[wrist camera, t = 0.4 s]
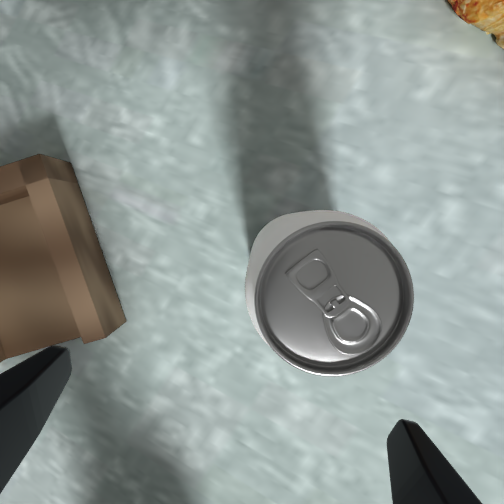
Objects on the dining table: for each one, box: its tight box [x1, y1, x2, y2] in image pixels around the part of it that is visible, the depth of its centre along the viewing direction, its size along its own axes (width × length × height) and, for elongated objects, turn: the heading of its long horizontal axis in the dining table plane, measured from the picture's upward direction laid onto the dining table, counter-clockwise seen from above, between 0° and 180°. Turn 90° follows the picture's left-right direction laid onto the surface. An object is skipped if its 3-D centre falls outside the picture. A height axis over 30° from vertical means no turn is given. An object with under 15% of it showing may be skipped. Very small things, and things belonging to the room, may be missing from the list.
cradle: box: [0, 154, 126, 362], centre depth 22 cm, size 12×10×3 cm
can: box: [245, 210, 414, 376], centre depth 17 cm, size 6×6×12 cm
